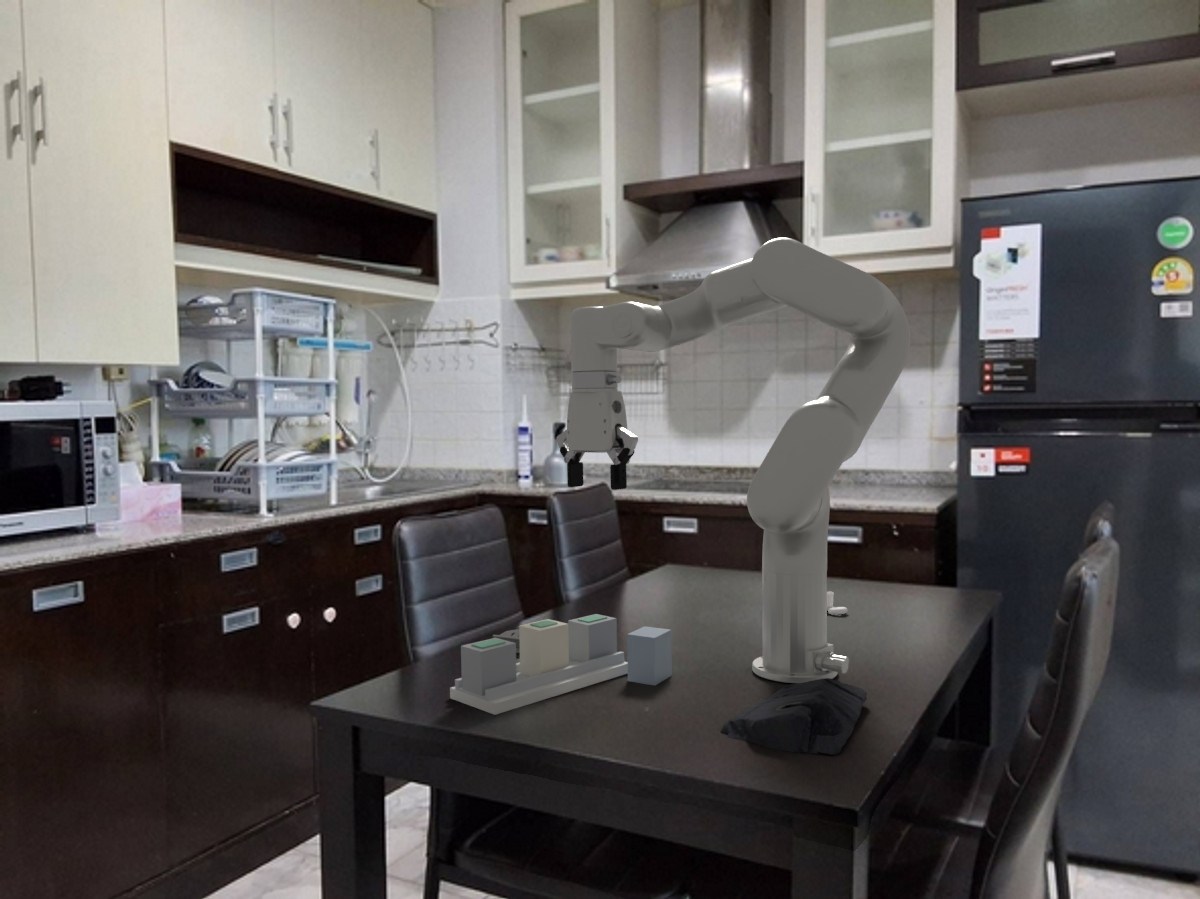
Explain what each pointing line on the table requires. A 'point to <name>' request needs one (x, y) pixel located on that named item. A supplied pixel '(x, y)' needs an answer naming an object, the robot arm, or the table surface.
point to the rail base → (542, 684)
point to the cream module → (543, 647)
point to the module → (649, 655)
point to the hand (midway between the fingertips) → (596, 487)
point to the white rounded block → (830, 605)
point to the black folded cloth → (801, 718)
